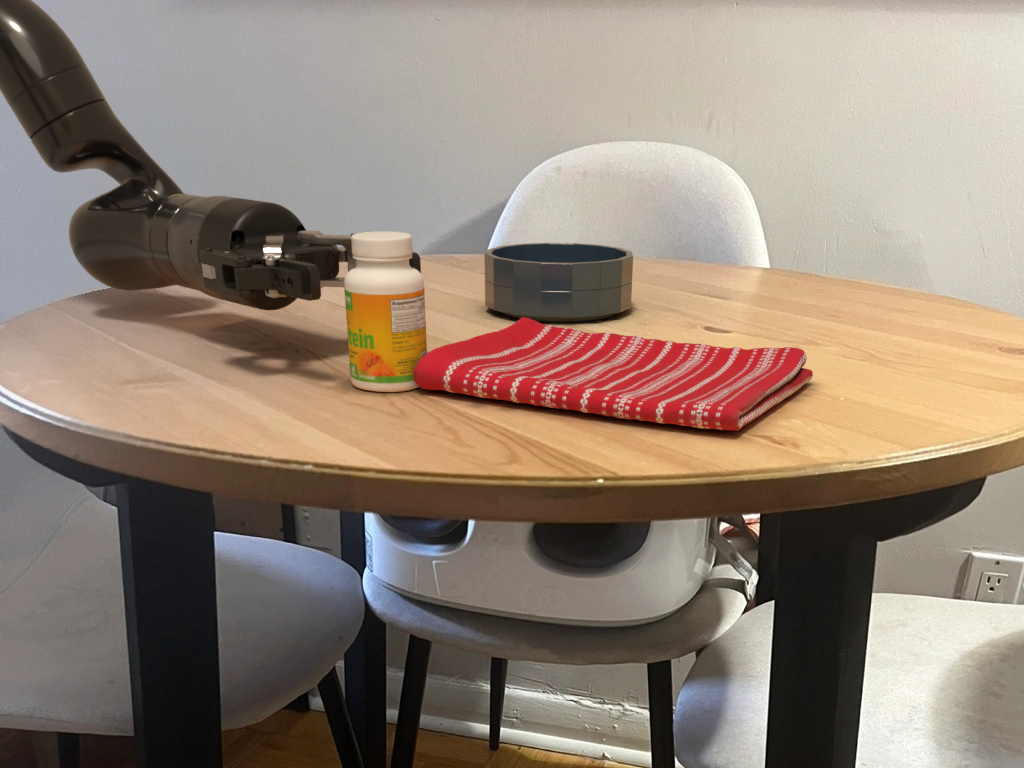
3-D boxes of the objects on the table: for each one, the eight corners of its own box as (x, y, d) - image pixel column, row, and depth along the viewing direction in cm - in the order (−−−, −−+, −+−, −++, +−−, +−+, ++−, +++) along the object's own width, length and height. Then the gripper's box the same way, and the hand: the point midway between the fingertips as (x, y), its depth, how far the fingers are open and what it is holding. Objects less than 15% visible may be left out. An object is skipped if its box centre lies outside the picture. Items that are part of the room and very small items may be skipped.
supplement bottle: (336, 382, 81) (324, 233, 76) (399, 371, 84) (391, 227, 79) (379, 397, 78) (370, 242, 73) (443, 385, 81) (438, 235, 76)
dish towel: (523, 347, 92) (523, 313, 90) (815, 383, 82) (819, 344, 81) (403, 394, 78) (401, 354, 77) (733, 442, 69) (737, 397, 68)
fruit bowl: (597, 330, 98) (599, 267, 96) (460, 316, 103) (459, 256, 100) (650, 305, 108) (653, 248, 106) (524, 294, 113) (524, 239, 111)
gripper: (145, 204, 82) (273, 225, 72) (311, 192, 91) (446, 209, 81) (161, 314, 86) (285, 348, 76) (319, 292, 94) (449, 320, 84)
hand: (368, 276), depth 78 cm, fingers open, 8 cm apart
